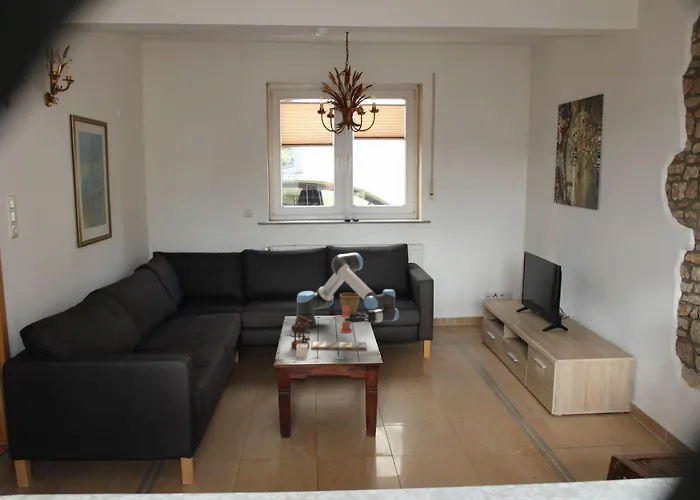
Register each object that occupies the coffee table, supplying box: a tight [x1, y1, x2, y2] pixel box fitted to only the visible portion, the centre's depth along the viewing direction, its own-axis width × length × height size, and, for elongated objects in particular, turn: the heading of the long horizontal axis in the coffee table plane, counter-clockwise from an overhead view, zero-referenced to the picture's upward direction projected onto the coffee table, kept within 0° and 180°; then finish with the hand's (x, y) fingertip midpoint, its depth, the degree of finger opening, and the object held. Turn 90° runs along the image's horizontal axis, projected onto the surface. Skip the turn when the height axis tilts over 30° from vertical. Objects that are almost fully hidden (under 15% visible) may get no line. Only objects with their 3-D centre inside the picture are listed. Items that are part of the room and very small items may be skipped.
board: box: [310, 341, 368, 351], centre depth 358 cm, size 33×12×2 cm, turn 90°
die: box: [295, 344, 308, 358], centre depth 341 cm, size 6×6×6 cm
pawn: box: [339, 306, 353, 334], centre depth 356 cm, size 7×7×16 cm
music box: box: [286, 316, 312, 351], centre depth 353 cm, size 15×11×20 cm
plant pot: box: [339, 292, 361, 313], centre depth 433 cm, size 15×15×16 cm
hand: (337, 318), depth 354 cm, fingers closed on pawn, 4 cm apart
